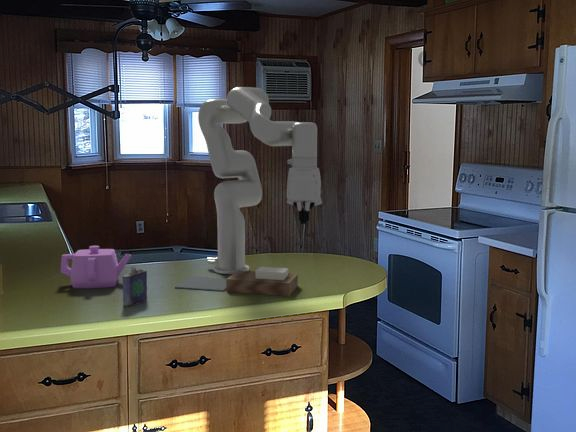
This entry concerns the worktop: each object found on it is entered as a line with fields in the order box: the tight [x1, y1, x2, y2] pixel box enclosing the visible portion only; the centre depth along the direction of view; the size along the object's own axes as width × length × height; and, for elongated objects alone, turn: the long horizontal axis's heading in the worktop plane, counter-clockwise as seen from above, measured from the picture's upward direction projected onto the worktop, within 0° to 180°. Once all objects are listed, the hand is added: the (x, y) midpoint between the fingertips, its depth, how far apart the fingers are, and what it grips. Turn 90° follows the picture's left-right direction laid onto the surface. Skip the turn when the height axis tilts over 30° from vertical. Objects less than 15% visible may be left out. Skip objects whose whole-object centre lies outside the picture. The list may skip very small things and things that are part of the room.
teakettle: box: [60, 245, 132, 289], centre depth 213 cm, size 17×17×12 cm
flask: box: [122, 265, 148, 308], centre depth 192 cm, size 9×3×11 cm, turn 151°
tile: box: [255, 266, 289, 280], centre depth 207 cm, size 9×6×2 cm, turn 77°
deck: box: [225, 270, 299, 297], centre depth 208 cm, size 20×12×4 cm, turn 77°
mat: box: [174, 276, 227, 292], centre depth 214 cm, size 16×14×1 cm
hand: (304, 223), depth 202 cm, fingers closed
